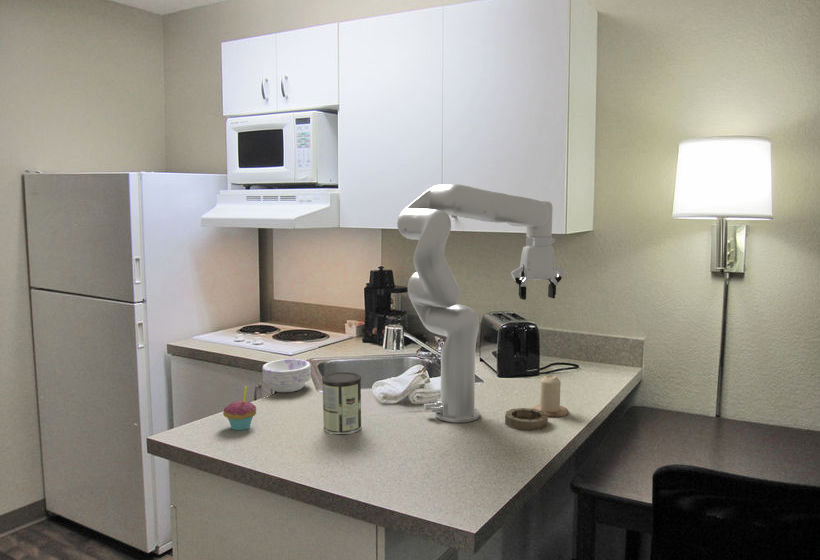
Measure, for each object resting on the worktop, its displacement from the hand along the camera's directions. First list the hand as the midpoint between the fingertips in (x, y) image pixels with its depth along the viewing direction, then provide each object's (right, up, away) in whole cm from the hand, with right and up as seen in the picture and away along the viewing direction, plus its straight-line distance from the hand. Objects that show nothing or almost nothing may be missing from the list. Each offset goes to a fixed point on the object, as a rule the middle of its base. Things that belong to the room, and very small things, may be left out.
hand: (537, 298), depth 206 cm
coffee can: (-57, -34, -26) cm, 71 cm away
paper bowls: (-78, -29, +10) cm, 84 cm away
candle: (+1, -32, -12) cm, 34 cm away
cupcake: (-84, -34, -26) cm, 94 cm away
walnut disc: (+2, -32, -12) cm, 34 cm away
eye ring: (-7, -34, -22) cm, 41 cm away
